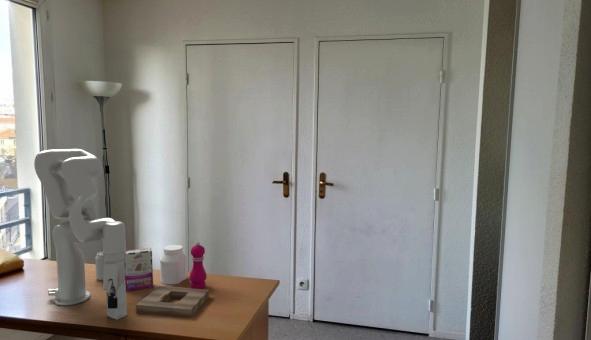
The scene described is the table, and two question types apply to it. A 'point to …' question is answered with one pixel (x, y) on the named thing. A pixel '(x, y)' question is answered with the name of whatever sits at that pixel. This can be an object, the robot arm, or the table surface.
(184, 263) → the jar
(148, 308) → the board
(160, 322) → the table surface
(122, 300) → the skincare box
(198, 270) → the pepper mill
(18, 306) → the table surface
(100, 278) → the can
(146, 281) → the candy bar box
